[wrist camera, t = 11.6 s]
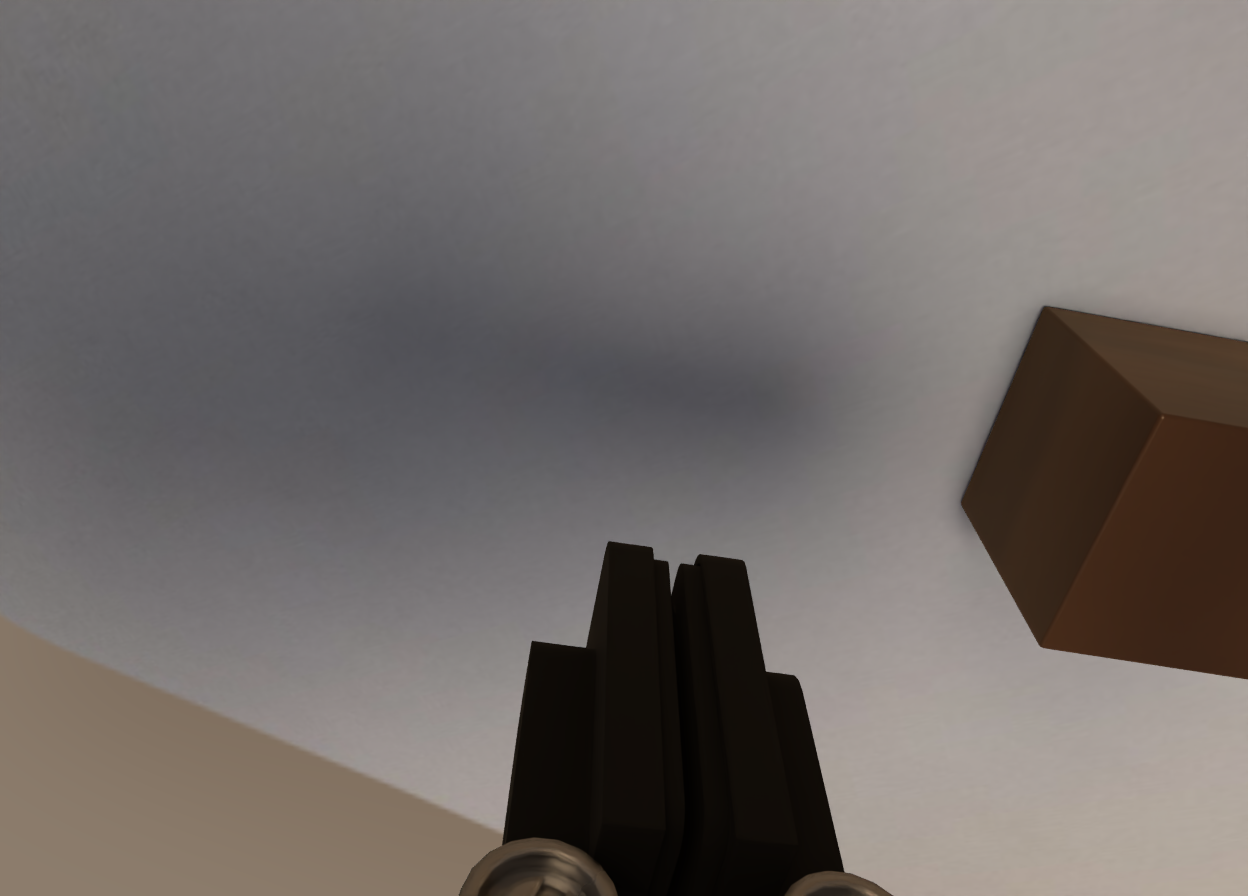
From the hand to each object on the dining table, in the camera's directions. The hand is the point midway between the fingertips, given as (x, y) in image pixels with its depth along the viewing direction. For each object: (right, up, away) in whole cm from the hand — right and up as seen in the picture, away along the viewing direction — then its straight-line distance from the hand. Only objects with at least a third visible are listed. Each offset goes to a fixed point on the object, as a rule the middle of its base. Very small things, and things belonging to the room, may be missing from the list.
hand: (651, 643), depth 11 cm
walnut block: (+10, +3, +9) cm, 14 cm away
